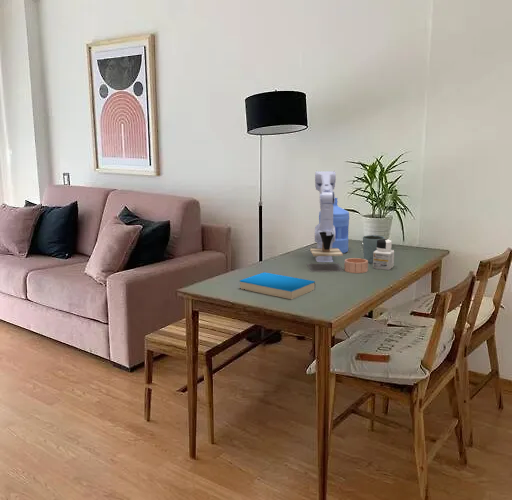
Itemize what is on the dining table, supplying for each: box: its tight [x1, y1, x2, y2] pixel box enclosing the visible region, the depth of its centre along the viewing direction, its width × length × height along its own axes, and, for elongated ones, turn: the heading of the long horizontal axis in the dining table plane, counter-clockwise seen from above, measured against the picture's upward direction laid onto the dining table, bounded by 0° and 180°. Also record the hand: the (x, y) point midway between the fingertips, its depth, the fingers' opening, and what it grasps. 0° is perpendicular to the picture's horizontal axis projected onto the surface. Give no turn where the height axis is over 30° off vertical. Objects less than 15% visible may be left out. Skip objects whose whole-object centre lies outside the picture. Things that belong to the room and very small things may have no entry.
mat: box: [306, 262, 345, 273], centre depth 242 cm, size 15×15×1 cm
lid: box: [309, 242, 344, 257], centre depth 240 cm, size 13×13×5 cm
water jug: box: [318, 197, 350, 254], centre depth 277 cm, size 16×16×28 cm
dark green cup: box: [362, 234, 386, 264], centre depth 254 cm, size 10×10×12 cm
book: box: [239, 271, 316, 300], centre depth 210 cm, size 17×4×25 cm
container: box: [372, 238, 395, 271], centre depth 243 cm, size 8×8×13 cm
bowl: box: [343, 257, 369, 274], centre depth 236 cm, size 10×10×5 cm
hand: (326, 248), depth 240 cm, fingers closed on lid, 3 cm apart
